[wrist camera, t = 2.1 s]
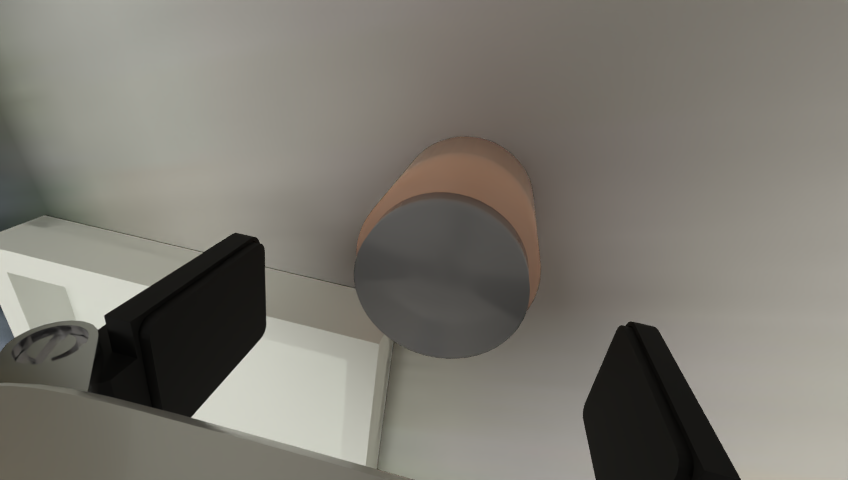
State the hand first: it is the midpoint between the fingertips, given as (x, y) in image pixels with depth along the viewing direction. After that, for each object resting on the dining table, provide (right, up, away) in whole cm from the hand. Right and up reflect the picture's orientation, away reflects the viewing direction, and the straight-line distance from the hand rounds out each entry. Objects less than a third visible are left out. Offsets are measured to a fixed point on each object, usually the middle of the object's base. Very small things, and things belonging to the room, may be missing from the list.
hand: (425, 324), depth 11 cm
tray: (-11, -6, +12) cm, 18 cm away
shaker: (+1, +4, +5) cm, 6 cm away
